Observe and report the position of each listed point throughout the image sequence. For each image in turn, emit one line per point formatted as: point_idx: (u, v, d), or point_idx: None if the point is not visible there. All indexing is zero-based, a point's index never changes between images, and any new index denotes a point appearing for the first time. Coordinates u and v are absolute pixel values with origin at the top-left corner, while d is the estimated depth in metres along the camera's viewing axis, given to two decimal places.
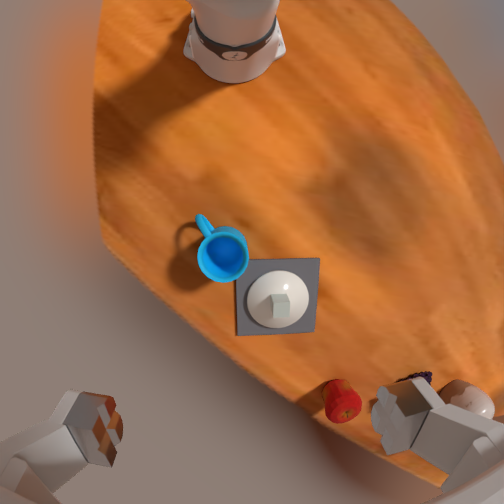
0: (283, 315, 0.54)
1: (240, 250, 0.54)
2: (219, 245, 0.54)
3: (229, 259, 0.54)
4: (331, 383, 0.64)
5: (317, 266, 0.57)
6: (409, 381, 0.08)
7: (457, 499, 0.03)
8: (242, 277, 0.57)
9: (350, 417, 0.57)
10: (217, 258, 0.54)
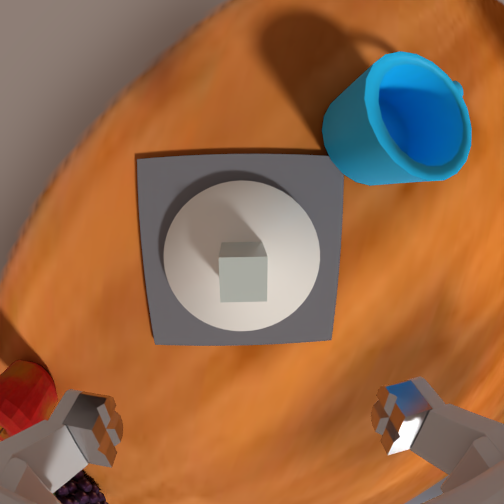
0: (224, 284, 0.19)
1: None
2: (383, 123, 0.20)
3: None
4: (45, 380, 0.25)
5: (315, 337, 0.26)
6: (409, 381, 0.08)
7: (457, 499, 0.03)
8: (302, 171, 0.22)
9: None
10: None
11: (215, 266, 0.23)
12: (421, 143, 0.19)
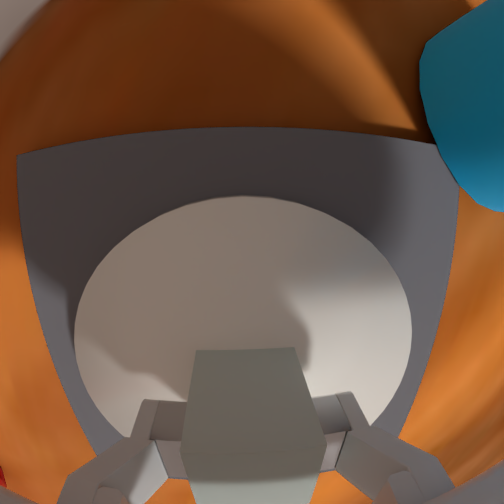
0: (204, 491, 0.05)
1: None
2: None
3: None
4: None
5: None
6: (334, 396, 0.07)
7: (457, 499, 0.03)
8: (387, 175, 0.09)
9: None
10: None
11: (185, 393, 0.09)
12: None
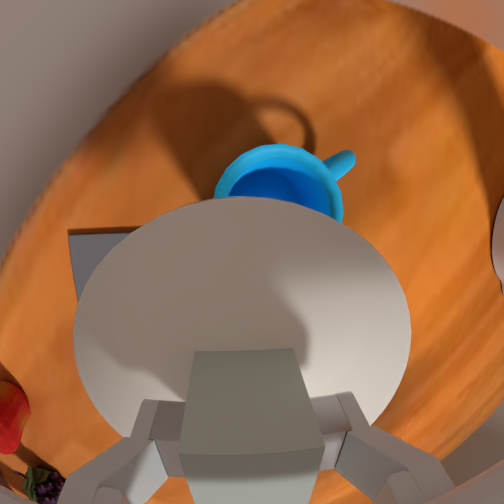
0: (202, 492, 0.05)
1: None
2: (273, 197, 0.25)
3: None
4: (19, 397, 0.27)
5: None
6: (334, 395, 0.07)
7: (457, 499, 0.03)
8: None
9: None
10: (244, 192, 0.24)
11: (184, 394, 0.09)
12: None
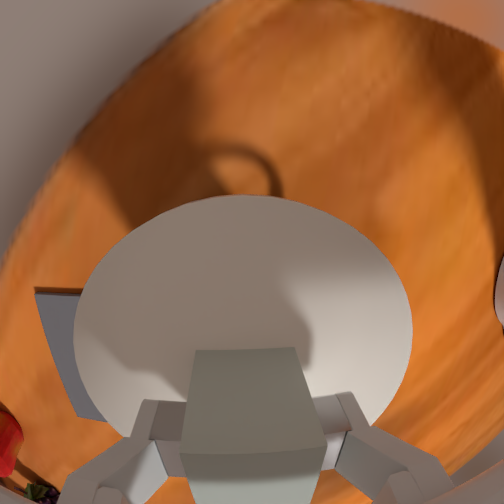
0: (204, 492, 0.05)
1: None
2: None
3: None
4: (12, 426, 0.26)
5: None
6: (334, 396, 0.07)
7: (457, 499, 0.03)
8: None
9: None
10: None
11: (185, 394, 0.09)
12: None
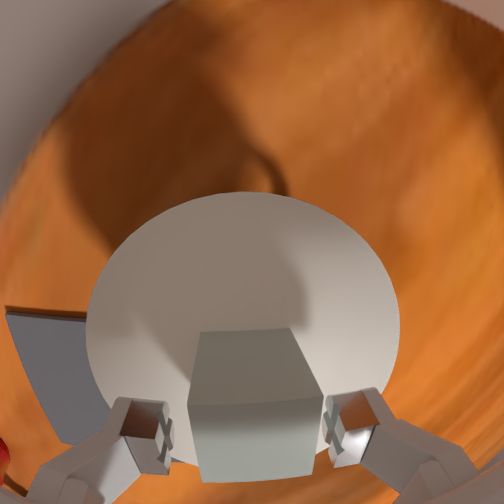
0: (208, 456, 0.06)
1: None
2: None
3: None
4: None
5: None
6: (360, 391, 0.07)
7: (457, 498, 0.03)
8: None
9: None
10: None
11: (189, 377, 0.10)
12: None
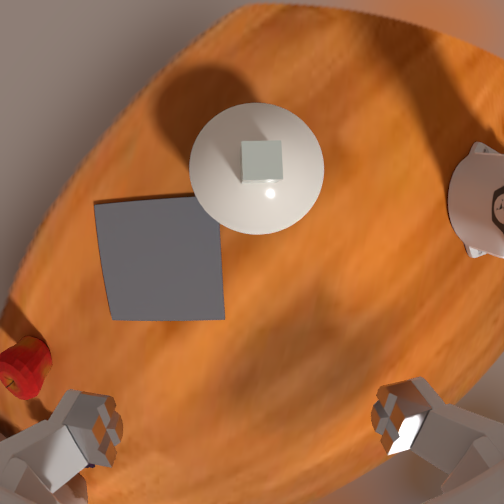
0: (246, 164, 0.22)
1: None
2: None
3: None
4: (43, 349, 0.37)
5: (212, 317, 0.39)
6: (409, 381, 0.08)
7: (457, 499, 0.03)
8: (190, 207, 0.35)
9: (8, 387, 0.30)
10: None
11: (234, 171, 0.26)
12: None
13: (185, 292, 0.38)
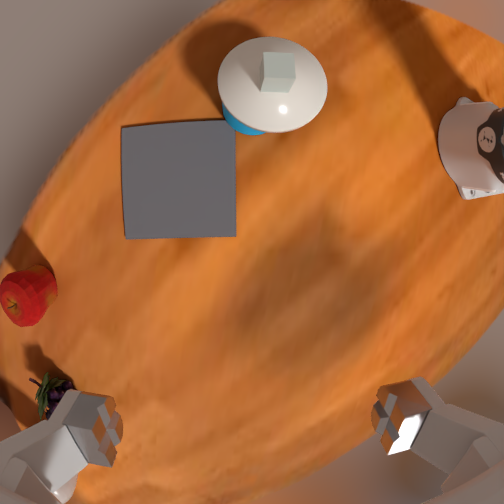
0: (267, 66, 0.24)
1: None
2: None
3: None
4: (51, 276, 0.40)
5: (224, 233, 0.41)
6: (409, 381, 0.08)
7: (457, 499, 0.03)
8: (210, 129, 0.38)
9: (8, 312, 0.33)
10: None
11: (254, 82, 0.28)
12: None
13: (200, 208, 0.40)
